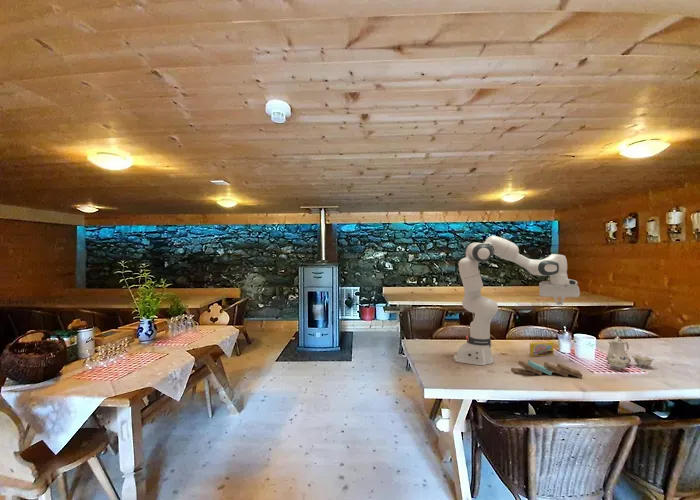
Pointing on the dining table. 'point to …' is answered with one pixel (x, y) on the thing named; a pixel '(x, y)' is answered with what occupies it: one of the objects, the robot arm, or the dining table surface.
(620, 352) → the chinaware
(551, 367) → the domino
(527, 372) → the domino
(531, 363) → the placed domino
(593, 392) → the dining table surface
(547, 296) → the robot arm
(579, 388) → the dining table surface
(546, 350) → the candy box
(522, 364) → the domino
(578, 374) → the domino
